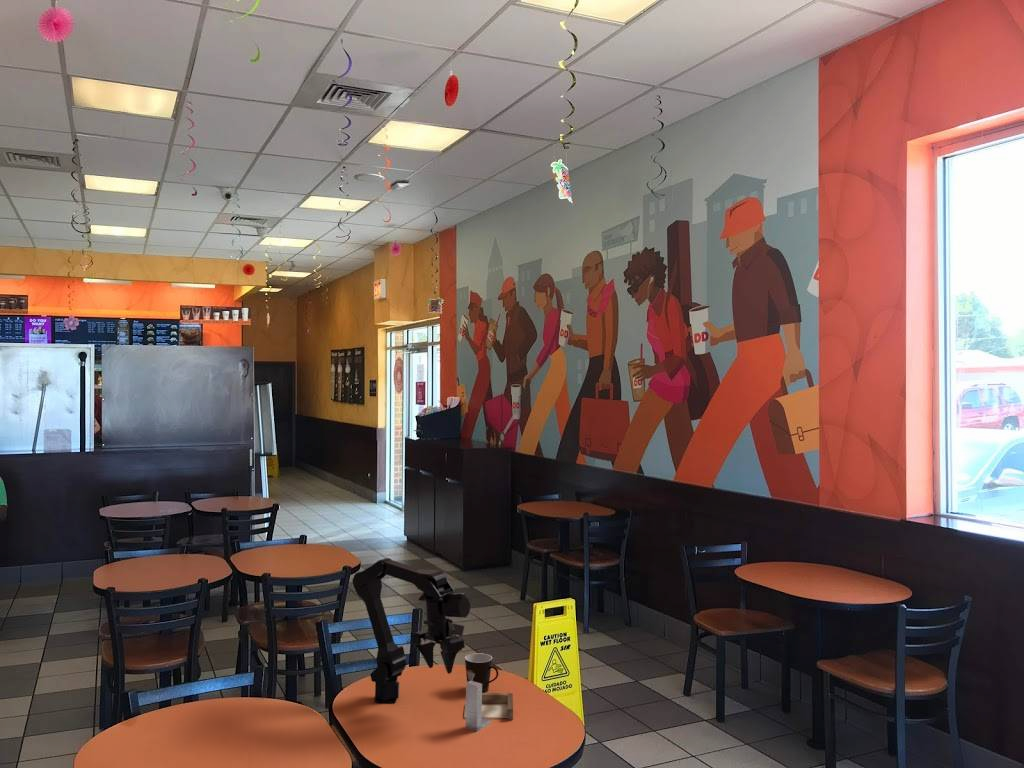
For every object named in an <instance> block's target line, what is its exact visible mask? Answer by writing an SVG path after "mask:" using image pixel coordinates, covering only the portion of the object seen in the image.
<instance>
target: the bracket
mask: <svg viewBox="0 0 1024 768" xmlns="http://www.w3.org/2000/svg"><path fill="white" fill-rule="evenodd" d="M465 684H466V685H465V689H466V690H465V704H466V718H465V729H468V730H471V731H474V732H480V730H481V731H482V729H484V728H487V727H488V726H490V725H491V719H485V718H482V684H481V683H478V682H474V681H469V682H467V681H466V683H465Z"/></svg>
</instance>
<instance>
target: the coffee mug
mask: <svg viewBox="0 0 1024 768" xmlns="http://www.w3.org/2000/svg"><path fill="white" fill-rule="evenodd" d="M464 664H465V673H466V682H469V681H474V682H478V683H481V684H482V693H485V692H486V693H488V691H489V689H490V683H492V682H494V681H495V680H497V678H498V676H499V669H498V668H497V667H496V666H494V665H493V656H492V655H490V654H487V653H479V652H476V653H469V654H467V655H465V656H464ZM492 669H493V670H494V671H495V673H496V675H495V677H494V678H493V679H491V671H492ZM490 679H491V680H490Z"/></svg>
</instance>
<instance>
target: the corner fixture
mask: <svg viewBox="0 0 1024 768" xmlns="http://www.w3.org/2000/svg"><path fill="white" fill-rule="evenodd" d="M482 718H485V719H488V720H491V719H493V720H495V719H498V720H499V718H500V720H501V718H507V719H506V720H507V721H513V720H514V694H513V693H511V692H507V693H505V692H486V693H482ZM463 719H466V703H465V705H464V713H463Z"/></svg>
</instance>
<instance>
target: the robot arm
mask: <svg viewBox="0 0 1024 768" xmlns="http://www.w3.org/2000/svg"><path fill="white" fill-rule="evenodd" d="M386 576H389V577H393V578H395V579H398V580H401V581H403V582H407V583H410V584H412V585H414V586H415V587H416V588H417V590H419V591H421V592H422V595H420V596H419V598H418V600H419V601H421V602H424V603H425V616H426V618H425V619H424V620H423V624H424V625H426V629H423V630H420V631H416V632H414V633H413V634H412V638H411V639H412V643H413V644H415V645H414V646H416V648H417V649H418V651H419V653H420V654H421V656H422V657H423V660H424V661H425V663H426V664H427V666H428V668H429V669H432V668H433V667H434V647H435V646H436V644H437V645H439V647H440V649H441V651H440V655H441V657H442V661H443V664H444V668H445V670H446V672H447V674H448V675H449V674H452V672H453V671H452V670H453V667H454V663H455V659H456V656H457V654H458V653H459V652H460V651H462V650H463V649H464V648H465V647H466V641H465V639H464V638H462V637H463V635H464V631H465V625H462V624H458V623H454V622H453V619H450V618H464V619H465V618H467V617H468V616H469V614H470V612H471V602H470V600H469V598H468V597H466V593H465V592H456V590H455V589H454V588H453V586H452V585H451V583H450V581H449V580H448V578H447V576H446V574H445V572H444V571H442V570H439V569H437V570H436V569H420V568H417V567H414V566H412V565H409V564H405V563H402V562H399V561H396V560H393V559H391V558H389V557H386V558H382V559H379V560H377V561H376V562H375V563H373V564H372V565H371V566H369V567H367V568H366V569H364V570H362V571H359V572H356V573H355V574H354V575H353V578H352V580H351V581H352V586H353V588H354V590H355V592H356V595H357V596H358V597H359V598H360V599H361V600H362V601H363V602H364V605H365V608H366V611H367V615H368V617H369V618H368V619H369V621H370V625H371V628H372V632H373V635H374V638H375V641H376V645H377V653H376V654H377V655H376V659H375V660H376V666H377V667H375V668H374V670H373V671H372V672H371V673H370V674H369V675H370V679H371V682H373V683H375V687H374V688H375V689H374V700H373V702H378V703H377V704H380V703H379V702H388V704H394V703H397V700H398V699H399V697H400V681H399V680H398V678H399V677H401V676H402V674H403V672H404V671H405V670H406V669H405V668H406V666H407V659H408V657H407V656H406V654H405V648H404V646H403V645H400V646H398V645H397V644H396V643H395V641H394V638H393V635H392V632H391V628H390V625H389V621H388V618H387V614H386V611H385V608H384V604H383V601H382V598H381V593H382V587H383V584H382V580H383V578H385V577H386ZM449 617H450V618H449ZM453 635H454V636H453Z"/></svg>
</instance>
